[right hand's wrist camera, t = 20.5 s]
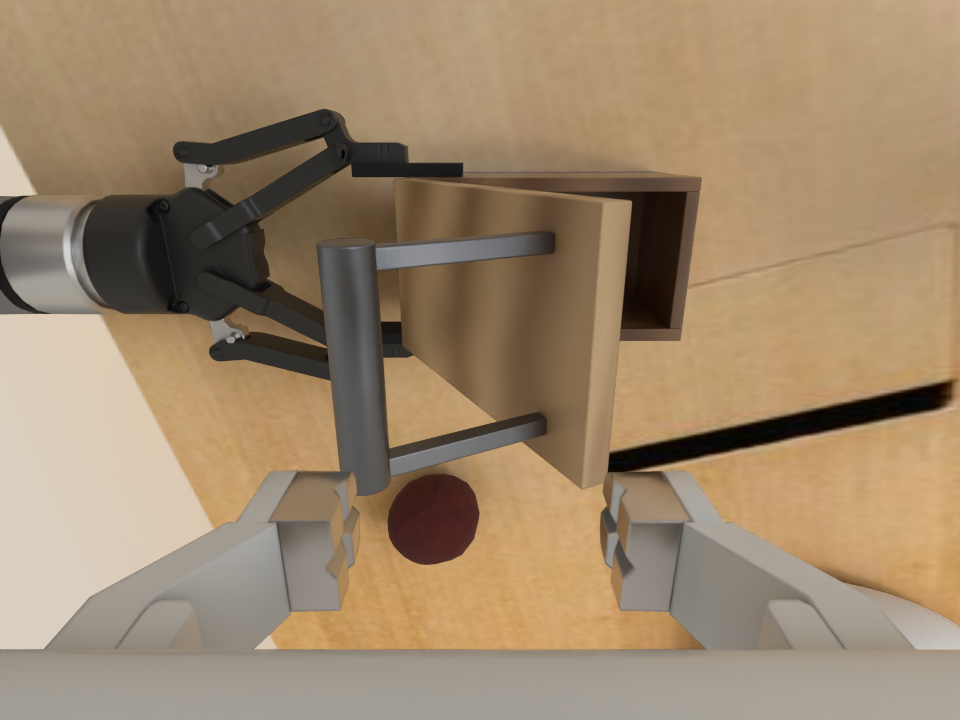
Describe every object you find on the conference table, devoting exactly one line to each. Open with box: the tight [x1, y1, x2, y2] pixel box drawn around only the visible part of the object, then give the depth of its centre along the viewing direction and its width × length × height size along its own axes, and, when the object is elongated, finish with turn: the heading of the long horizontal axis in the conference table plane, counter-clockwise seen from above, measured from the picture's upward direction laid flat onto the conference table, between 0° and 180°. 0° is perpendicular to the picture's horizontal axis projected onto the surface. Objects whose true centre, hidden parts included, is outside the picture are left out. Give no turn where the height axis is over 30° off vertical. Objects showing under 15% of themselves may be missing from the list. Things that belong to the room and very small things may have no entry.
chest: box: [407, 172, 702, 341], centre depth 37 cm, size 17×10×9 cm, turn 90°
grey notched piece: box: [845, 583, 960, 650], centre depth 48 cm, size 22×23×15 cm
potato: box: [388, 474, 479, 565], centre depth 46 cm, size 7×8×7 cm
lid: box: [317, 178, 632, 496], centre depth 24 cm, size 18×10×9 cm
